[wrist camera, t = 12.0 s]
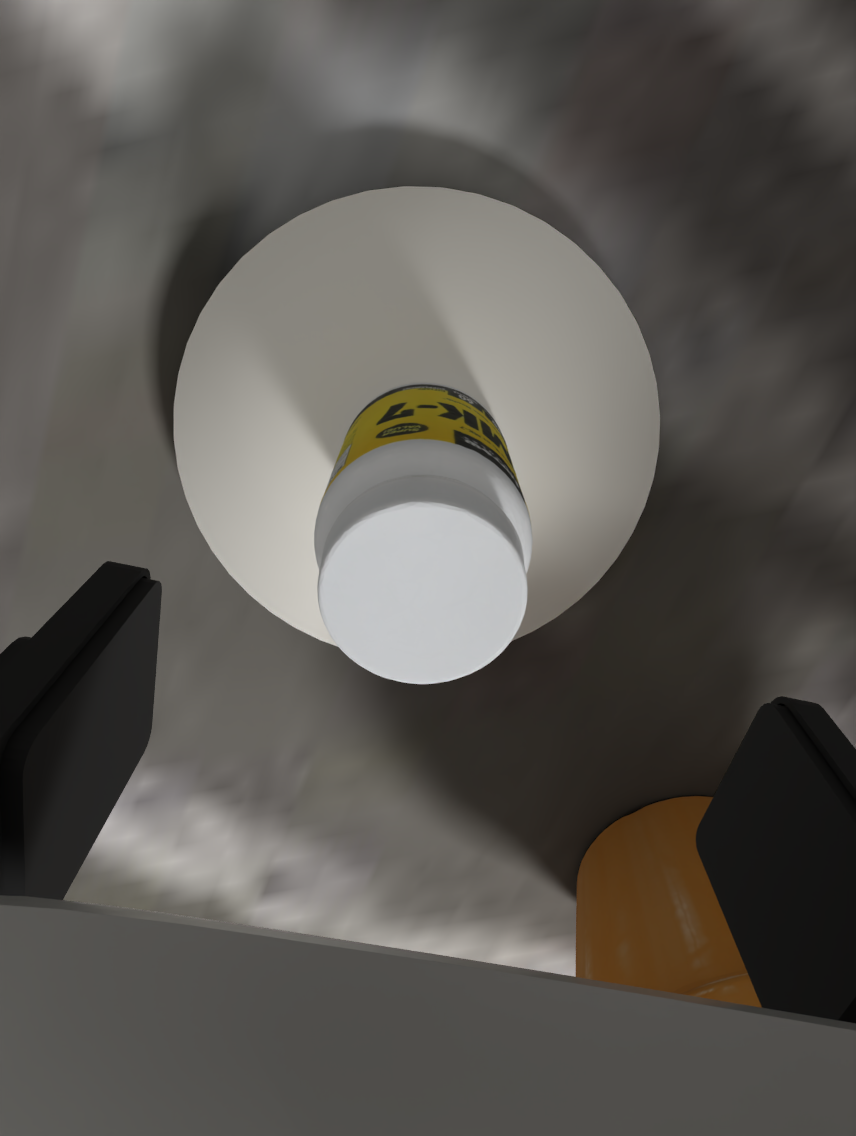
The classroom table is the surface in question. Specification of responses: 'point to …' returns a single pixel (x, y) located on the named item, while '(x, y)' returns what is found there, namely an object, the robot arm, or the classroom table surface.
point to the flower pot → (656, 909)
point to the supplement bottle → (423, 538)
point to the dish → (414, 355)
